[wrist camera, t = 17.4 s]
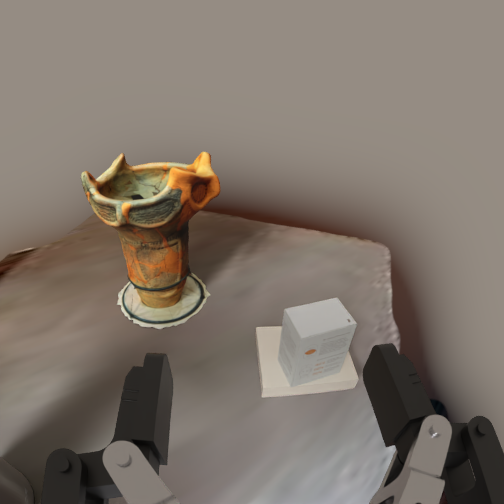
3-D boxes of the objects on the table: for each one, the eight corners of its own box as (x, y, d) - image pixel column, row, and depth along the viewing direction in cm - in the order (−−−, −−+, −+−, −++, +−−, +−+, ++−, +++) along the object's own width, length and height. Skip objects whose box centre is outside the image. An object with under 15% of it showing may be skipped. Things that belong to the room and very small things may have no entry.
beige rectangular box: (261, 397, 42) (263, 388, 41) (255, 337, 52) (255, 327, 51) (354, 388, 43) (358, 379, 42) (335, 333, 53) (338, 323, 52)
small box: (324, 347, 47) (338, 295, 42) (340, 373, 43) (359, 323, 37) (275, 359, 45) (283, 307, 40) (289, 388, 41) (301, 338, 35)
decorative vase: (120, 261, 69) (108, 139, 54) (220, 270, 70) (227, 141, 55) (86, 325, 51) (50, 176, 36) (210, 341, 52) (214, 180, 37)
